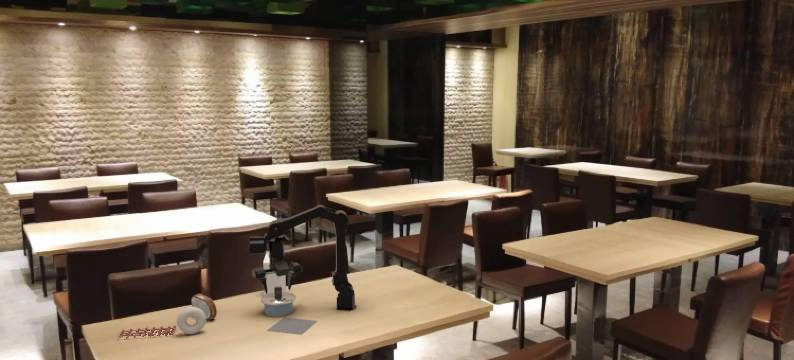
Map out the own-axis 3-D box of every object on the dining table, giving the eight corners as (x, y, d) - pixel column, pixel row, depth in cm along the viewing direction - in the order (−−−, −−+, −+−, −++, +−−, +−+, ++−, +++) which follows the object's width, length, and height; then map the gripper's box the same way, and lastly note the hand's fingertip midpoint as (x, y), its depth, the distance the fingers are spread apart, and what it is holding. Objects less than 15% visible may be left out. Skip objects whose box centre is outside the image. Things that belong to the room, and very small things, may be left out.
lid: (301, 295, 247) (301, 284, 246) (286, 306, 234) (285, 294, 233) (271, 292, 251) (270, 281, 250) (254, 303, 238) (253, 291, 237)
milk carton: (279, 297, 261) (278, 254, 259) (264, 296, 263) (262, 253, 260) (286, 292, 268) (284, 250, 266) (270, 291, 270) (269, 249, 267)
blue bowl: (297, 309, 247) (296, 296, 246) (284, 318, 236) (284, 305, 236) (272, 307, 250) (272, 293, 249) (259, 316, 239) (259, 302, 239)
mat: (317, 322, 233) (317, 320, 233) (301, 335, 220) (301, 334, 220) (284, 318, 237) (284, 317, 237) (266, 331, 224) (266, 330, 224)
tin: (217, 320, 235) (216, 299, 234) (210, 323, 233) (209, 301, 232) (197, 311, 245) (196, 291, 244) (190, 313, 243) (189, 293, 242)
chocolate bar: (121, 333, 224) (121, 328, 224) (176, 330, 227) (176, 324, 227) (116, 341, 217) (116, 336, 217) (172, 337, 220) (172, 332, 220)
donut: (206, 330, 226) (205, 303, 224) (207, 333, 223) (206, 306, 221) (177, 334, 222) (175, 307, 220) (178, 337, 219) (176, 310, 217)
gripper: (258, 260, 228) (260, 301, 230) (306, 254, 237) (307, 293, 239) (250, 254, 238) (252, 293, 240) (296, 248, 247) (298, 285, 249)
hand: (277, 291), depth 242 cm, fingers open, 9 cm apart
